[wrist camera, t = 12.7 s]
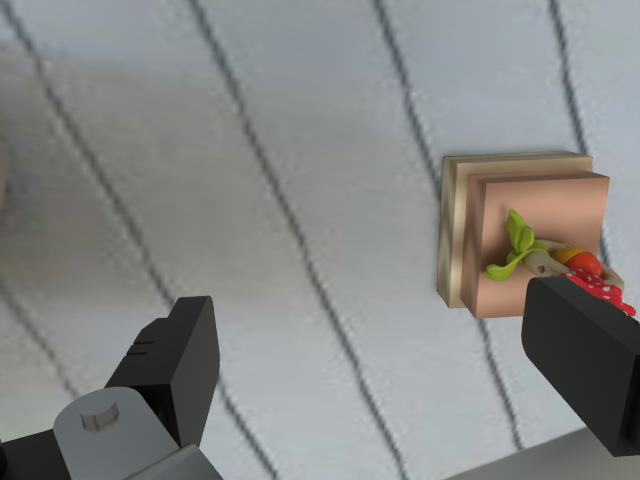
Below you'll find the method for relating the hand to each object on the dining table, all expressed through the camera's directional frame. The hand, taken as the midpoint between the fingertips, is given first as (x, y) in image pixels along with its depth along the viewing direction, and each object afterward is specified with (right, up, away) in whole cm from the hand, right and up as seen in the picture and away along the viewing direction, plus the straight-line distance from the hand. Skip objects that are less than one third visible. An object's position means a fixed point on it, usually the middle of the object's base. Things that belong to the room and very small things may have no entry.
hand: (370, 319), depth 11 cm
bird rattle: (+16, +2, +26) cm, 31 cm away
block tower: (+17, +4, +34) cm, 38 cm away
